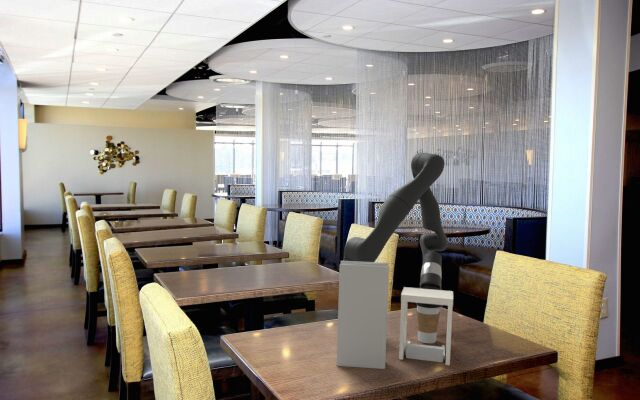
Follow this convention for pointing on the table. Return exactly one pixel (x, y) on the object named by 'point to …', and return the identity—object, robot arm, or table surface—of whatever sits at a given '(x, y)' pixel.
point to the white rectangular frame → (410, 349)
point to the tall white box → (362, 314)
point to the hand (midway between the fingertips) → (428, 319)
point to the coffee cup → (427, 322)
